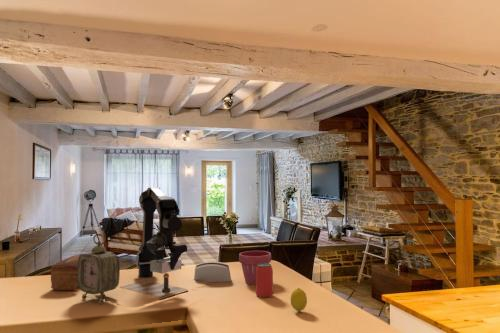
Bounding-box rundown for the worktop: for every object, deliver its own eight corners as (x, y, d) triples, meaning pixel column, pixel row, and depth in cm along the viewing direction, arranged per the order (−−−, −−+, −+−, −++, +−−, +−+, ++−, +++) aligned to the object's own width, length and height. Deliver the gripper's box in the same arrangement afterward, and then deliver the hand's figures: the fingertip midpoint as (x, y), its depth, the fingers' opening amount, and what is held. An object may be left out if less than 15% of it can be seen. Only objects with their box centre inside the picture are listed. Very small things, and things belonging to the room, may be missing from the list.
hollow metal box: (150, 271, 148) (150, 260, 148) (169, 266, 156) (169, 256, 156) (162, 273, 144) (162, 263, 144) (181, 268, 152) (181, 258, 152)
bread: (44, 292, 153) (45, 262, 154) (80, 276, 181) (80, 250, 182) (77, 292, 152) (77, 262, 153) (108, 276, 180) (108, 250, 181)
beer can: (275, 294, 148) (274, 263, 148) (270, 299, 141) (270, 266, 142) (259, 292, 150) (258, 262, 150) (253, 297, 143) (253, 265, 144)
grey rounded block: (231, 278, 173) (230, 259, 170) (230, 284, 168) (230, 265, 165) (195, 279, 173) (194, 259, 170) (193, 285, 168) (192, 265, 165)
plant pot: (234, 284, 163) (234, 254, 163) (246, 277, 176) (246, 249, 176) (265, 287, 157) (264, 256, 158) (275, 279, 170) (275, 251, 171)
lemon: (289, 309, 129) (288, 286, 129) (305, 309, 129) (304, 285, 130) (292, 315, 123) (292, 290, 124) (308, 314, 124) (308, 289, 124)
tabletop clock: (77, 299, 142) (78, 233, 144) (98, 294, 150) (99, 231, 151) (99, 306, 134) (100, 236, 135) (121, 299, 142) (121, 233, 143)
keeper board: (119, 289, 156) (119, 269, 156) (146, 282, 167) (146, 264, 168) (160, 300, 141) (160, 278, 141) (187, 291, 152) (187, 271, 152)
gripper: (135, 229, 150) (134, 269, 149) (166, 233, 139) (166, 275, 138) (157, 227, 159) (156, 264, 158) (188, 230, 148) (188, 270, 147)
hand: (166, 268), depth 150 cm, fingers closed on hollow metal box, 7 cm apart
